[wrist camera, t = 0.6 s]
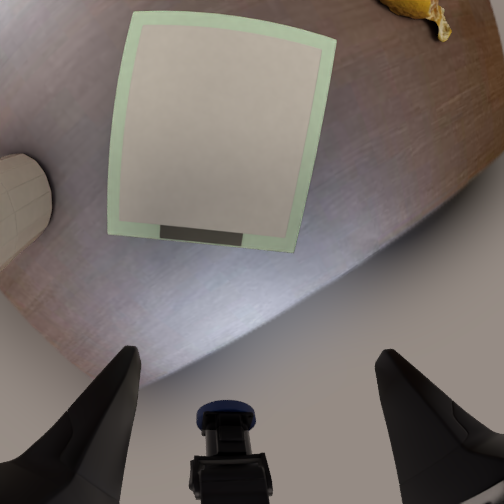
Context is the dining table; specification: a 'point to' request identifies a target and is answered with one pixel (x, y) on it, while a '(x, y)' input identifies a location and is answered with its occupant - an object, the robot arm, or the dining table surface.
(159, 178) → the scale
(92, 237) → the dining table surface
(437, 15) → the fruit
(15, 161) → the cream faceted cup
